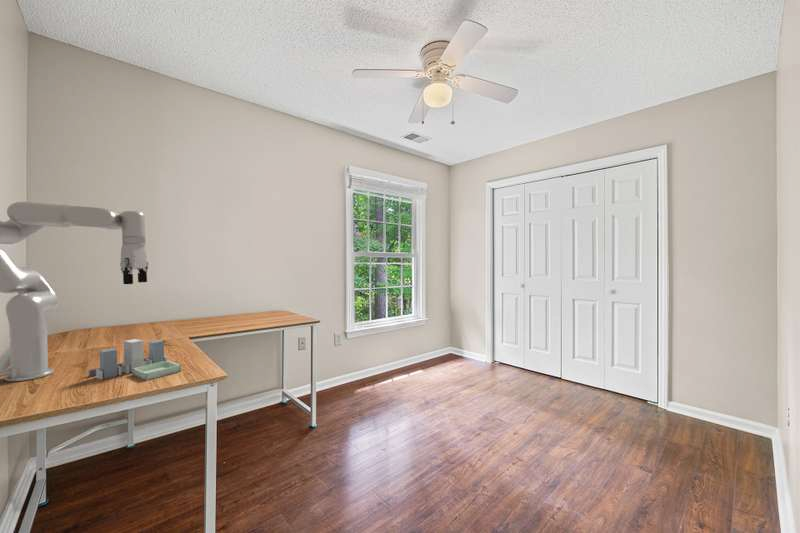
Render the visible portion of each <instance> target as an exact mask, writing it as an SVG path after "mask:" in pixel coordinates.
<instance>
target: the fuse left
mask: <svg viewBox="0 0 800 533" xmlns="http://www.w3.org/2000/svg"><path fill="white" fill-rule="evenodd" d="M117 364H118V349H116V348H113V347H112V348H111V347H110V348H107V349H100V350H99V368H100V370H102V371H103V379H105V380H106V379H109V378H113V377H117V376H118V375H117Z"/></svg>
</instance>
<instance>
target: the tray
mask: <svg viewBox="0 0 800 533" xmlns="http://www.w3.org/2000/svg"><path fill="white" fill-rule="evenodd" d="M179 372H182V366H181V364H178V363H176V362H173V361H169V360H167V361H163V362H159V363H154V364H150V365H146V366H141V367H137V368H133V373H132V375H133V376H135V377H137V378H139V379H142V380H144V381H149V380H154V379H157V378H160V377H164V376H168V375H172V374H176V373H179Z"/></svg>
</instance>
